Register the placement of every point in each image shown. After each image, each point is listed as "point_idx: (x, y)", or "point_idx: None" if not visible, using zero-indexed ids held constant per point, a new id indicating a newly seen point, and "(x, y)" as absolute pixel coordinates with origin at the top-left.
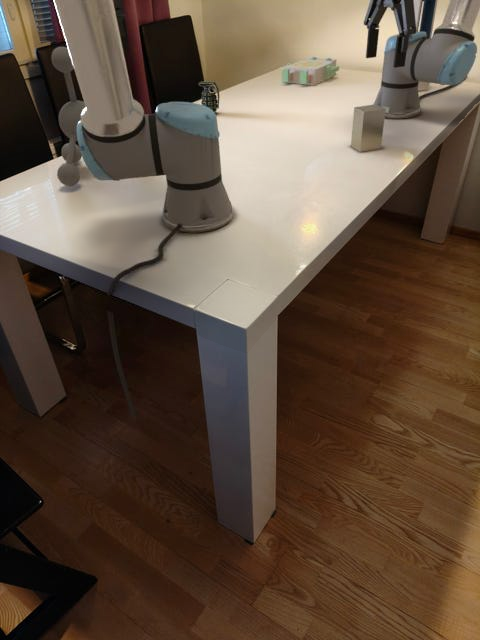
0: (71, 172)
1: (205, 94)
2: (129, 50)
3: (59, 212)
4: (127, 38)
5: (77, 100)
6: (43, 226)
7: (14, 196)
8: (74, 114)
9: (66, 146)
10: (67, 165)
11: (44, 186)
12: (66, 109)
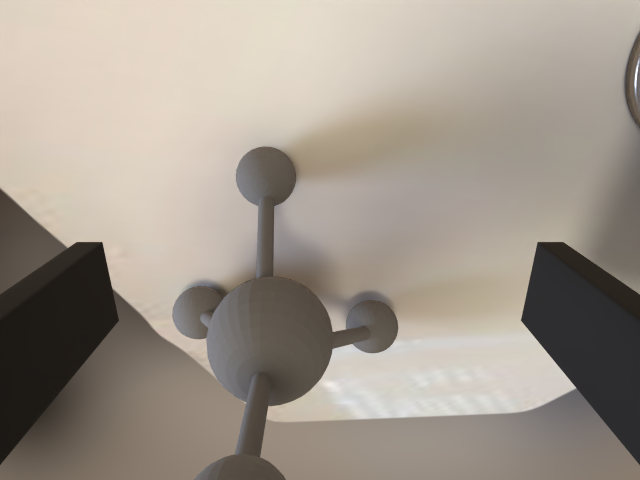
0: (395, 326)
1: None
2: (569, 249)
3: (487, 335)
4: (624, 288)
5: (248, 369)
6: (533, 361)
7: (358, 406)
8: (322, 368)
9: (205, 332)
10: (382, 338)
11: (331, 358)
12: (298, 394)
